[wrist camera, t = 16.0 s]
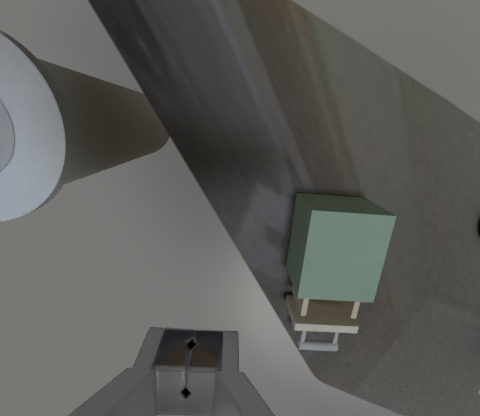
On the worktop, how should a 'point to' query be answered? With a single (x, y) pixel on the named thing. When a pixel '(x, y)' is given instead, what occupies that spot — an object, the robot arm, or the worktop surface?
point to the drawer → (321, 320)
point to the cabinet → (337, 247)
